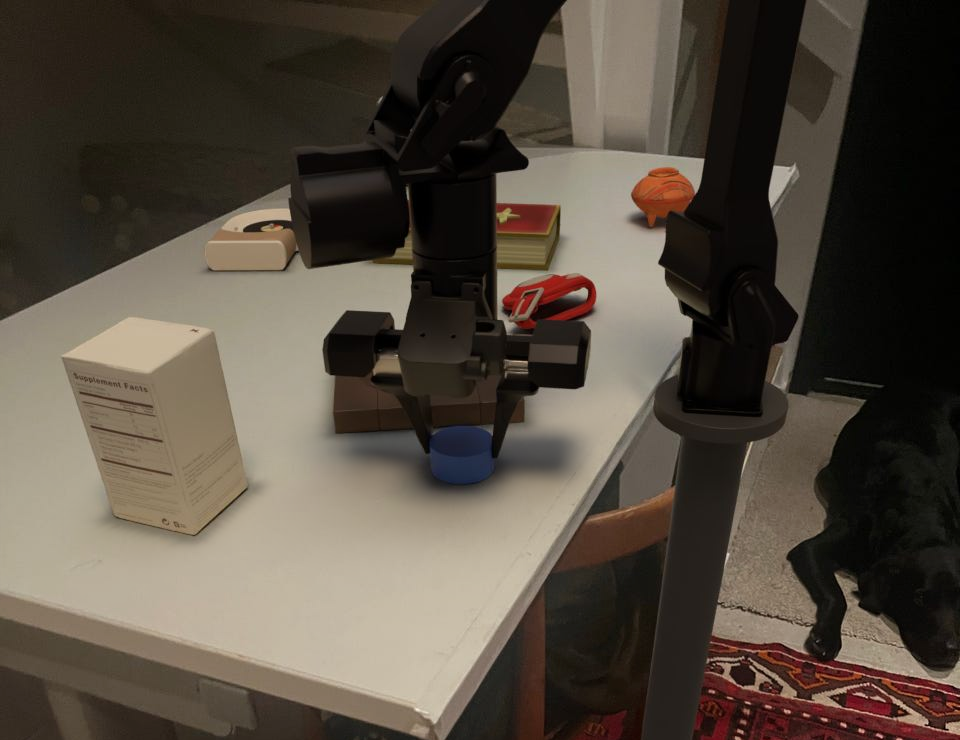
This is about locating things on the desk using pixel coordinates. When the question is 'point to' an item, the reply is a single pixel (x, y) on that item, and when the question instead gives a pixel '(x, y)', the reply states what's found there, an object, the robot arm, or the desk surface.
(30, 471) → the desk surface
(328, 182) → the robot arm
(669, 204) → the orange footed clay pot
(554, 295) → the red belt with buckle
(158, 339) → the white packaging box
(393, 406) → the token holder
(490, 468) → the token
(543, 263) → the hardcover book
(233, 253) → the record player
